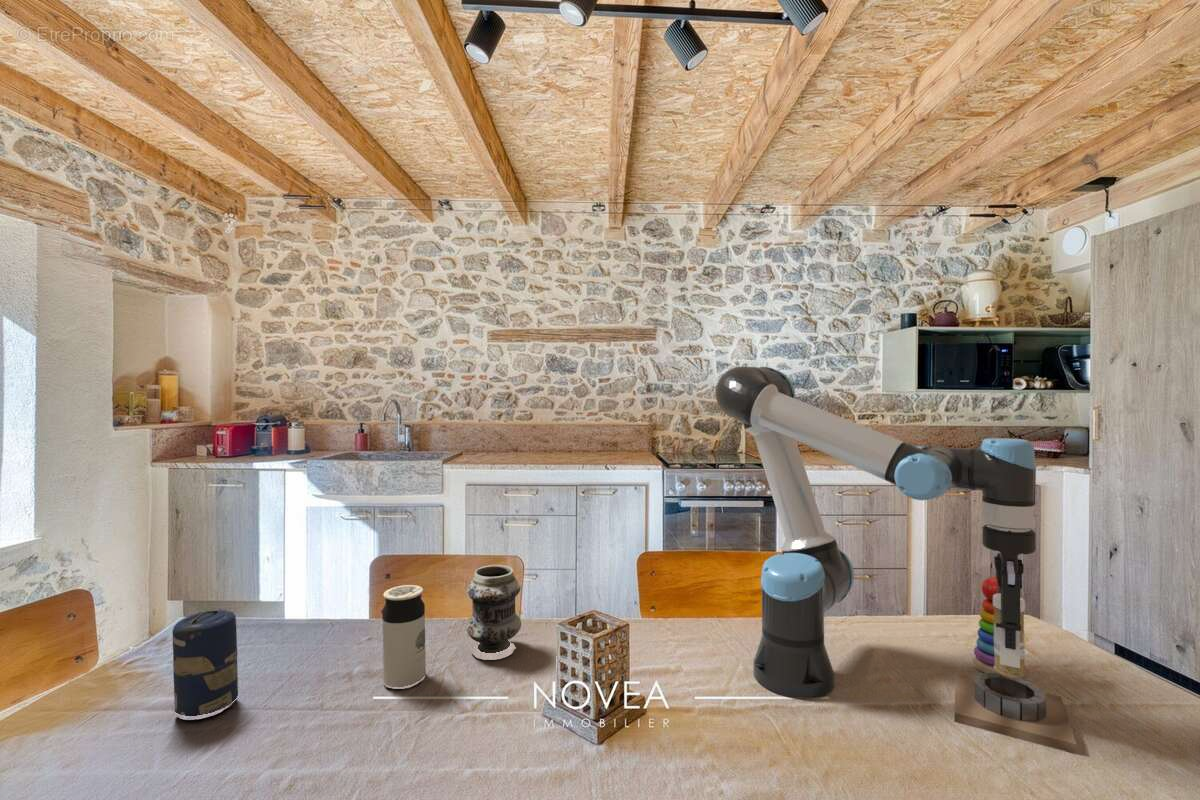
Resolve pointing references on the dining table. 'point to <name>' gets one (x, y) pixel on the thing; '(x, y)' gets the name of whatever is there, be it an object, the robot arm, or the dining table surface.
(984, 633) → the stacking toy
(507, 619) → the apothecary jar
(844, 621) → the dining table surface
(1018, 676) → the sprinkles bottle
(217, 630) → the canister
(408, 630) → the travel mug
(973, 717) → the base board
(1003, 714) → the collar
